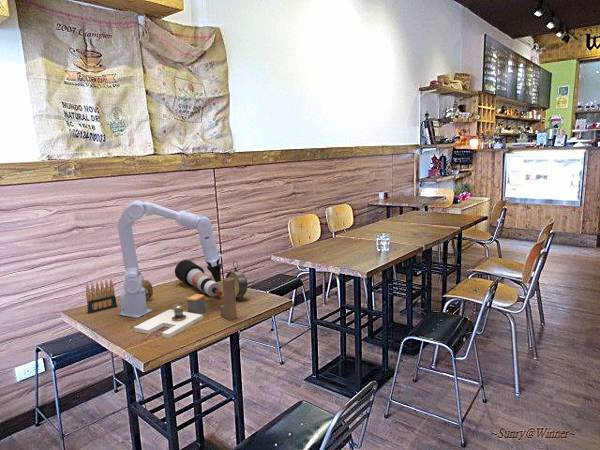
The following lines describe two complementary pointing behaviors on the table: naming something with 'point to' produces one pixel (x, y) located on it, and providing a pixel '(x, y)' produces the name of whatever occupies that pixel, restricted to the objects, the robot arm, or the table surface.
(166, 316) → the notched board
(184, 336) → the table surface
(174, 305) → the bronze knob
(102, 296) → the ammunition clip
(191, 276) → the cable
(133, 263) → the robot arm
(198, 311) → the grey and orange block
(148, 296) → the brown oval slab
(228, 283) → the wooden block
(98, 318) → the table surface
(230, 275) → the alarm clock
